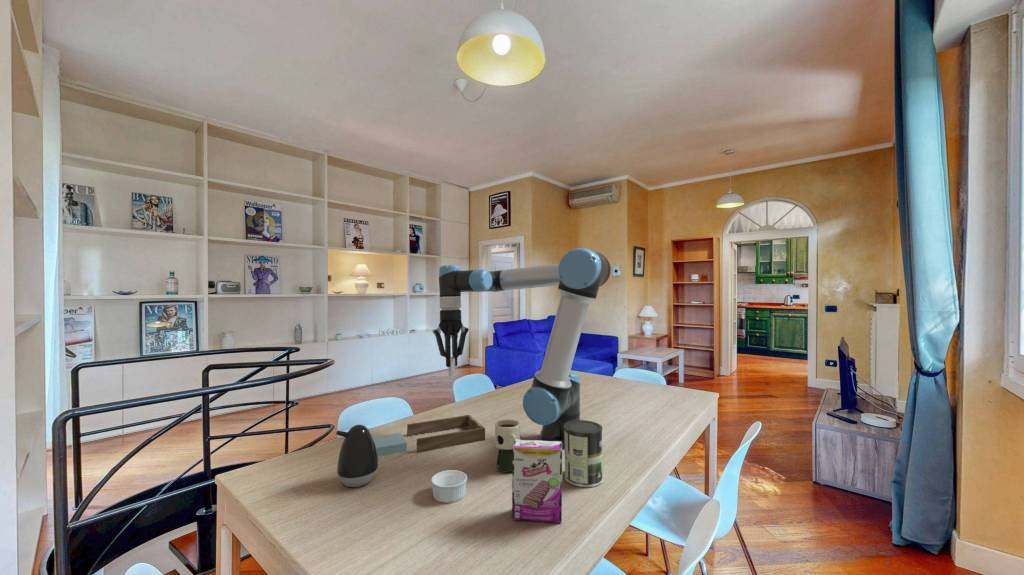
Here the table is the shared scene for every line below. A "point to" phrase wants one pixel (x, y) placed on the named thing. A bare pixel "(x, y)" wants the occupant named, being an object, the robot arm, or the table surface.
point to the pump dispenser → (357, 457)
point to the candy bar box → (537, 481)
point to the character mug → (506, 442)
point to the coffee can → (583, 453)
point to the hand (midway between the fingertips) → (451, 375)
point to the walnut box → (446, 439)
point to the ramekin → (449, 486)
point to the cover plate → (390, 444)
